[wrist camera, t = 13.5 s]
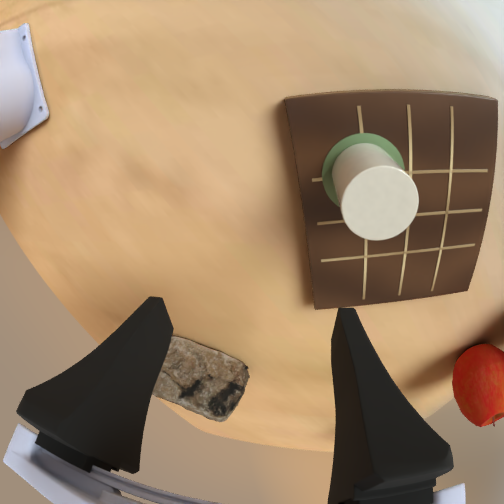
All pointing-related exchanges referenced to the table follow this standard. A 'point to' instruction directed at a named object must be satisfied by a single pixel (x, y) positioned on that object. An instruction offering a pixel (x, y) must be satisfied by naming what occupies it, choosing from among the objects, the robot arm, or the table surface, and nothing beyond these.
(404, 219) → the white cylinder
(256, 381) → the table surface
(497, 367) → the apple
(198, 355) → the stone
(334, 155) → the game board
